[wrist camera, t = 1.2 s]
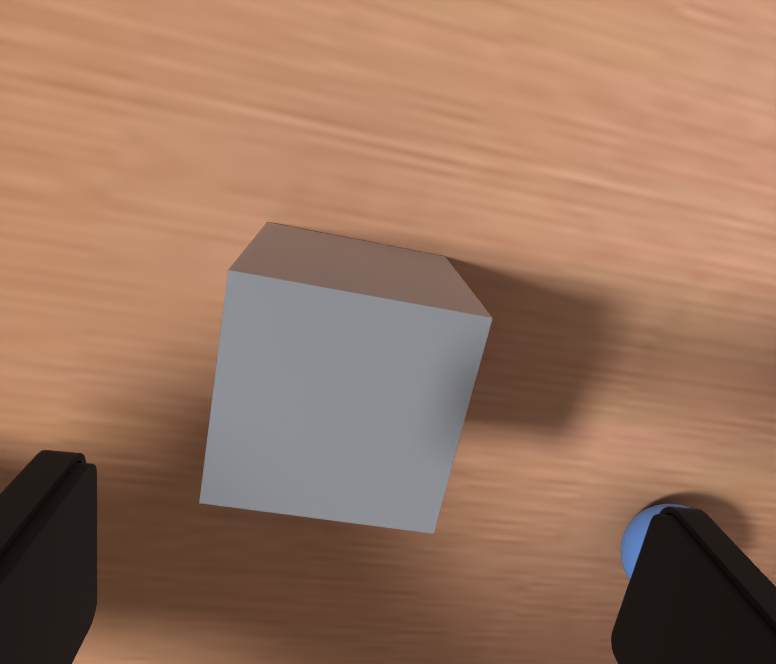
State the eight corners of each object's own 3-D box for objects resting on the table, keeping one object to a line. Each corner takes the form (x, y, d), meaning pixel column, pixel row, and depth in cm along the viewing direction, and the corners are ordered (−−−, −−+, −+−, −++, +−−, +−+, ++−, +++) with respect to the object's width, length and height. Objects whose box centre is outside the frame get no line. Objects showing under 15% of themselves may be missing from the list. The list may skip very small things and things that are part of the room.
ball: (634, 578, 32) (683, 656, 28) (586, 520, 31) (630, 592, 26) (713, 528, 32) (778, 598, 27) (668, 466, 30) (728, 529, 25)
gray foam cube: (407, 413, 28) (433, 533, 20) (243, 388, 27) (199, 503, 19) (445, 256, 26) (492, 318, 18) (267, 221, 25) (228, 270, 16)
